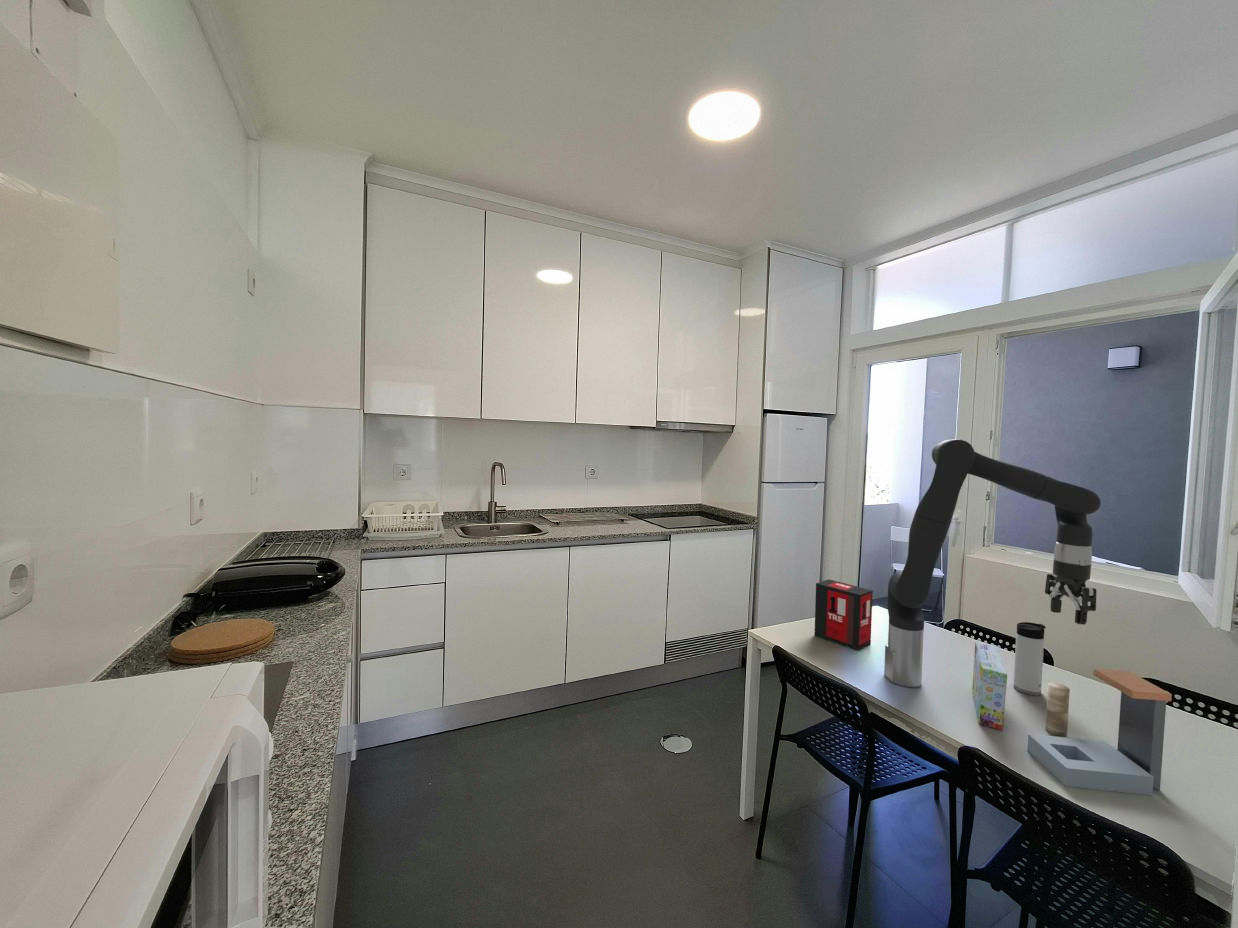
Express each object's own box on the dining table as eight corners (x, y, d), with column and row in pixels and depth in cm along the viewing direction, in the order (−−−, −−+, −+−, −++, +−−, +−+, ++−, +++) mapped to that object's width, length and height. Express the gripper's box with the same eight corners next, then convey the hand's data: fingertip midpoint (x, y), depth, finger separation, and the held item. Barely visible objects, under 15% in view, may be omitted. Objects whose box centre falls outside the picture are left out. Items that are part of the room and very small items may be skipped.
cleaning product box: (870, 644, 173) (872, 590, 172) (858, 651, 167) (860, 595, 166) (827, 629, 186) (828, 579, 185) (814, 635, 180) (816, 583, 179)
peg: (1053, 736, 120) (1055, 689, 119) (1041, 726, 124) (1044, 681, 123) (1071, 738, 119) (1074, 691, 119) (1059, 728, 123) (1061, 683, 122)
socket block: (1065, 785, 103) (1066, 767, 102) (1027, 749, 114) (1028, 733, 114) (1152, 795, 100) (1153, 776, 100) (1104, 757, 112) (1105, 740, 112)
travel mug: (1047, 696, 138) (1051, 629, 137) (1021, 694, 140) (1025, 627, 139) (1033, 685, 144) (1037, 621, 143) (1008, 683, 146) (1012, 619, 145)
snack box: (1005, 732, 122) (1008, 674, 121) (978, 724, 125) (980, 668, 124) (994, 694, 140) (997, 644, 139) (970, 689, 143) (973, 639, 142)
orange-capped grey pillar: (1126, 789, 102) (1132, 691, 101) (1088, 758, 112) (1093, 668, 110) (1164, 793, 101) (1171, 694, 99) (1122, 761, 110) (1128, 671, 109)
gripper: (1038, 553, 139) (1033, 607, 140) (1078, 566, 125) (1073, 626, 126) (1066, 554, 138) (1062, 609, 139) (1110, 567, 124) (1105, 629, 125)
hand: (1067, 617), depth 132 cm, fingers open, 8 cm apart
